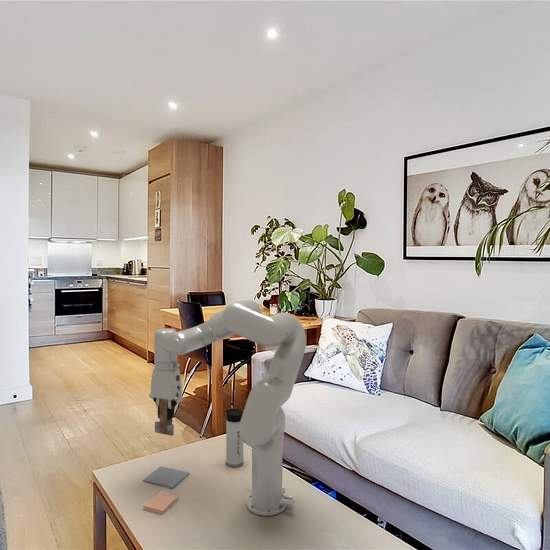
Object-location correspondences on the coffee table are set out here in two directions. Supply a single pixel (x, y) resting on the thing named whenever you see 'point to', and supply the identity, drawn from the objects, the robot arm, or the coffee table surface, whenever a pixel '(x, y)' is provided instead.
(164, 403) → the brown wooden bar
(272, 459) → the robot arm
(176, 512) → the coffee table surface
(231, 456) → the travel mug
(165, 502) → the tile
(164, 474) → the mat
